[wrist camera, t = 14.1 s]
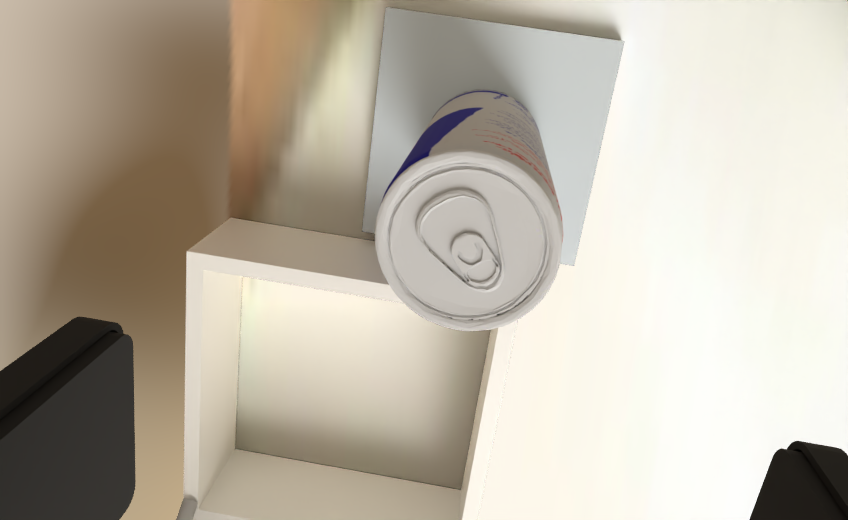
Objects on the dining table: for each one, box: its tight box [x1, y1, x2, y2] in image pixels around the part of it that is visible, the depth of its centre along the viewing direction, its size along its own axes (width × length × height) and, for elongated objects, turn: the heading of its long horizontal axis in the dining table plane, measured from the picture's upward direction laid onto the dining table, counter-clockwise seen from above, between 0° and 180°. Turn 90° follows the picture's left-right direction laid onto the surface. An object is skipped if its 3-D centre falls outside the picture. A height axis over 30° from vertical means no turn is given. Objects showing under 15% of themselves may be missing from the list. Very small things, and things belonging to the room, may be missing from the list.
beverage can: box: [375, 89, 563, 331], centre depth 27 cm, size 6×6×15 cm
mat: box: [362, 7, 625, 266], centre depth 34 cm, size 11×11×1 cm
